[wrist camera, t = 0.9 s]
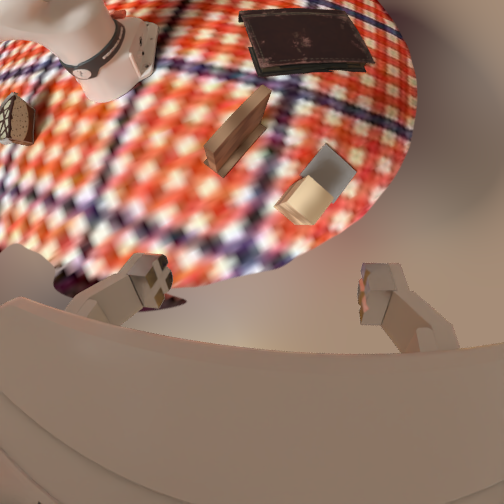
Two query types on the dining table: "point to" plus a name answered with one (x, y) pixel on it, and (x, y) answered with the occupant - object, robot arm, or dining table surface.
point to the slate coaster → (329, 171)
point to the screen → (237, 133)
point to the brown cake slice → (16, 121)
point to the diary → (303, 41)
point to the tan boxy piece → (304, 202)
